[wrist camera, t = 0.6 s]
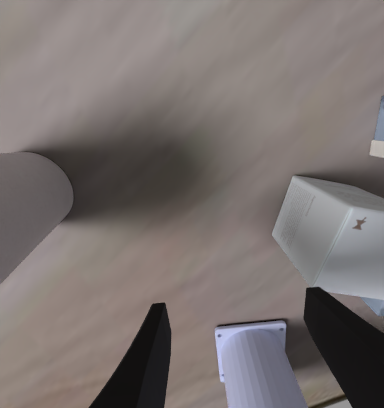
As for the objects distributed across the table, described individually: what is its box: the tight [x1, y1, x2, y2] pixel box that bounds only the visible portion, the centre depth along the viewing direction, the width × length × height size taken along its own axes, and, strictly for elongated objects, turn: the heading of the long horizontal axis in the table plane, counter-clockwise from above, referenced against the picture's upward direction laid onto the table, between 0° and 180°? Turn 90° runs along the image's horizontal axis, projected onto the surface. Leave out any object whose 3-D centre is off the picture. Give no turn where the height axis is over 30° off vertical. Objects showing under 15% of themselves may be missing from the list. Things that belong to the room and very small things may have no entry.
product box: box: [272, 175, 384, 300], centre depth 16 cm, size 6×6×7 cm
